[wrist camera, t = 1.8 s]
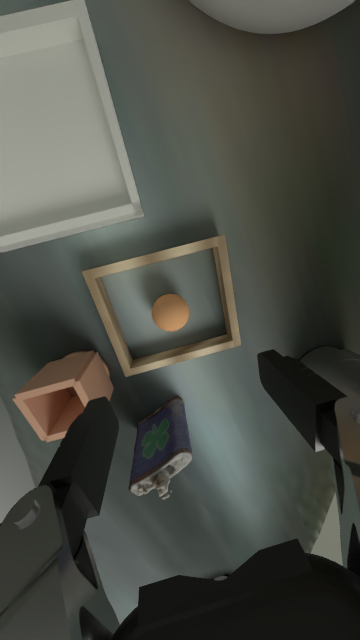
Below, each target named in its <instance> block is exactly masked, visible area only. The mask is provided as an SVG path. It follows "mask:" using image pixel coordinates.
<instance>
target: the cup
mask: <svg viewBox="0 0 360 640" xmlns="http://www.w3.org/2000/svg"><path fill="white" fill-rule="evenodd" d="M113 390H114V387H113V385H112V383H111V380H110V369H109V366H108V364H107V363H106V361H105V360H104V359H103V358H101V357H100V356H99V354H98V352H96V353H95V352H94V350H93V351H89V352H88V351H76V352H73V353H70V354H68V355H66V356H65V357H64V358H63V359H59V360H56V361H52V362H48V363H47V364H46V365H45V366H44V367H43V368H42V369H41V370H40V371H39V372H38V373H37V374H36V375H35V376H34V377H33V378H32V379H30V380H29V381H28V382H27V383H26V384H25V385H24V386H23V387H22V388H21V389H20V390H19V391H18V392H17V393H16V394H15V397H14V398H13V401H14V402H15V403H16V405H17V406H18V408H19V409H20V410H21V412H22V413H23V415H24V416H25V418H26V419H27V420H28V422H29V423H30V425H31V426H32V427H33V429H34V430H35V432H36V433H37V435H38V436H39V437H40V439H41V440H42V441H43V440H46V441H47V442H50V441H53V440H57V439H61V438H64V437H65V434H66V432H67V430H68V428H69V427H70V425H71V423H72V422H73V421H74V420H75V419H76V418H77V417H78V415H79V414H82V413H83V411H84V409H85V407H86V405H87V403H88V401H89V400H93V399H96V398H100V397H103V396H106V397H107V398H108V400H109V401H110V398H111V396H112V393H113ZM71 396H72V397H71Z"/></svg>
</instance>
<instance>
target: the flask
mask: <svg viewBox="0 0 360 640" xmlns="http://www.w3.org/2000/svg"><path fill="white" fill-rule="evenodd" d="M167 402H168V403H167V404H165V405H164V406H162V407H160V408H158V409H157V410H156V411H155V413H154V414H153V415H150V416H149V417H148V418H146V419H144V420H143V421H141V422H139V423H138V427H137V437H136V443H135V447H134V458H133V465H132V471H131V477H130V484H129V491H130V492H131V493H133V494H136V495H142V494H147V493H148V492H149V491H150V490H152V489H154V488H156V489H157V490H159V491H158V493H159V497H160V496H162V495H164V493H166V492H168V484H169V481H170V480H169V479H171V478H172V477H173V476H174V475H176V474H177V473H179V472H180V471H181V470H182V469H183V468H184V467H185V466H187V464H188V463H190V462H191V460H192V458H193V455H192V449H191V444H190V438H189V432H188V425H187V420H186V414H185V407H184V402H183V400H182V399H181V398H179V397H177V398H173V399H171V400H169V401H167ZM170 493H172V490H171V491H170ZM169 495H170V494H166V495H165V496H163V497H162V499H165V498H168V497H169Z"/></svg>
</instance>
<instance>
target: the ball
mask: <svg viewBox="0 0 360 640" xmlns="http://www.w3.org/2000/svg"><path fill="white" fill-rule="evenodd" d="M188 317H189V308H188V305H187V303H186V301H185V300H184V299H183V298H181V297H180V296H178V295H175V294H166V295H163V296H161V297H159V298H158V299H157V300H156V301H155V303H154V305H153V307H152V318H153V321H154V322H155V324H156V325H157V326H158V327H159V328H161V329H163V330H165V331H176V330H178V329H180V328H182V327H183V326H184V325H185V324H186V322H187V320H188Z"/></svg>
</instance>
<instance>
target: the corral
mask: <svg viewBox="0 0 360 640" xmlns="http://www.w3.org/2000/svg"><path fill="white" fill-rule="evenodd" d="M209 248H212V249H213V254H214V260H215V266H216V272H217V278H218V284H219V290H220V295H221V301H222V307H223V313H224V319H225V325H226V330H227V334H226V335H222V336H219V337H215V338H211V339H208V340H204V341H200V342H197V343H193V344H189V345H186V346H182V347H178V348H175V349H171V350H167V351H164V352H160V353H157V354H153V355H149V356H146V357H142V358H138V359H135V360H133V359H132V357H131V354H130V352H129V349H128V346H127V344H126V341H125V339H124V336H123V333H122V331H121V328H120V326H119V323H118V320H117V318H116V315H115V313H114V310H113V307H112V305H111V302H110V300H109V297H108V295H107V292H106V289H105V287H104V284H103V282H102V279H101V277H102V276H105V275H109V274H113V273H117V272H121V271H125V270H128V269H132V268H136V267H140V266H144V265H148V264H151V263H155V262H159V261H163V260H167V259H171V258H174V257H178V256H182V255H186V254H190V253H194V252H197V251H201V250H205V249H209ZM82 273H83V276H84V278H85V280H86V283H87V285H88V288H89V290H90V292H91V295H92V297H93V300H94V302H95V304H96V307H97V309H98V312H99V314H100V316H101V319H102V321H103V324H104V326H105V328H106V331H107V333H108V336H109V338H110V341H111V343H112V345H113V348H114V350H115V353H116V355H117V357H118V360H119V362H120V365H121V367H122V369H123V372H124V374H125V377H127V376H131V375H135V374H138V373H142V372H146V371H149V370H153V369H156V368H160V367H164V366H167V365H171V364H175V363H178V362H182V361H186V360H189V359H193V358H196V357H200V356H204V355H207V354H211V353H215V352H218V351H222V350H225V349H229V348H233V347H236V346H240V345H241V341H240V334H239V327H238V321H237V314H236V307H235V300H234V293H233V286H232V279H231V273H230V266H229V259H228V252H227V245H226V238H225V234H224V235H221V236H217V237H213V238H209V239H205V240H201V241H197V242H194V243H190V244H186V245H182V246H178V247H174V248H170V249H167V250H163V251H159V252H155V253H151V254H147V255H144V256H140V257H136V258H132V259H128V260H124V261H120V262H117V263H113V264H109V265H105V266H101V267H97V268H93V269H90V270H86V271H82Z"/></svg>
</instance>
